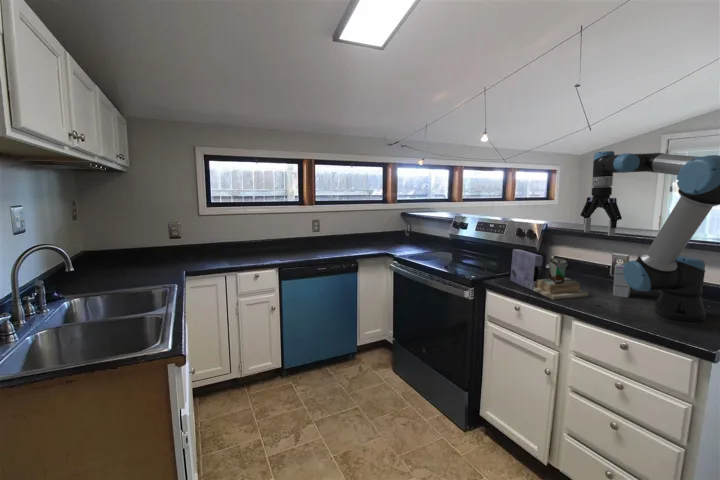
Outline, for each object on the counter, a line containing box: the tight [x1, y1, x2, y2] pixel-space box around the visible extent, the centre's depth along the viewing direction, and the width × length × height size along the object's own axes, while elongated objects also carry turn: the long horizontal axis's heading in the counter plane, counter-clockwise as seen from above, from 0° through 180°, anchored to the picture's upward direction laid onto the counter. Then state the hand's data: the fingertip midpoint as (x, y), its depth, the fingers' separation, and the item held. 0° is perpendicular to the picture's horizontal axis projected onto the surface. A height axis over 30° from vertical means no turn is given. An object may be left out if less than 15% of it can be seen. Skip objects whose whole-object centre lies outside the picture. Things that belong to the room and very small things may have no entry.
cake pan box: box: [510, 248, 544, 291], centre depth 181 cm, size 19×5×18 cm, turn 12°
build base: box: [532, 277, 589, 300], centre depth 170 cm, size 18×18×6 cm
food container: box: [548, 257, 568, 284], centre depth 168 cm, size 12×6×10 cm, turn 168°
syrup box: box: [612, 262, 631, 298], centre depth 162 cm, size 6×6×14 cm
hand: (598, 233), depth 162 cm, fingers open, 13 cm apart
